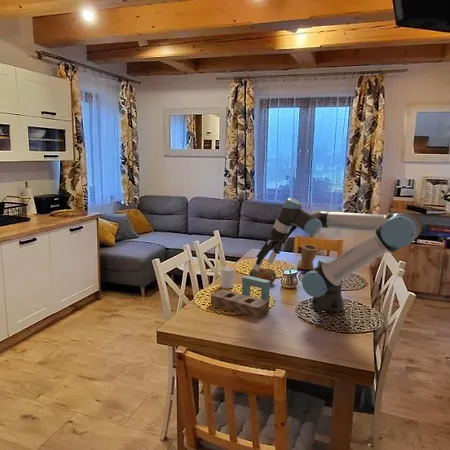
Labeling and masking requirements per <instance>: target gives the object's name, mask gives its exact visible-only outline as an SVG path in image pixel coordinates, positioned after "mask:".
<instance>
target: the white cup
mask: <svg viewBox="0 0 450 450" xmlns="http://www.w3.org/2000/svg"><path fill="white" fill-rule="evenodd" d="M235 270H236V269H235V267H232V266H221V267H220V269H219V271H220V272H219V276H220V288H223V289H231V288H233V287H234V282H235V273H236V272H235Z"/></svg>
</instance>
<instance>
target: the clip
mask: <svg viewBox="0 0 450 450" xmlns="http://www.w3.org/2000/svg"><path fill="white" fill-rule="evenodd" d="M241 282H242V283H241V284H242V285H241V294H243V295H246V296H250V297H251V285H253V286H257V287H261V290H260V291H261V292H260V299H262V300H266V301H269V302H270V289H271V288H270V287H271V284H270V281H269V280H265V279H260V278H256V277H251V276H250V275H244V276H242V277H241Z"/></svg>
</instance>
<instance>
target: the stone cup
mask: <svg viewBox="0 0 450 450" xmlns="http://www.w3.org/2000/svg"><path fill="white" fill-rule="evenodd" d="M317 252H318V248H317V247H316V246H314V245H312V244H309V243H308V244H304V245H303V246H302V247H301V255H300V256H301V259H300V260H299V261H298V262H297V265H296V267H297V268H298V269H299V270H306V271H307V270H308V271H311V270H313V269H314V268H313V267H314V260H315V258H316V256H317Z"/></svg>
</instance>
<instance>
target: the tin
mask: <svg viewBox="0 0 450 450" xmlns="http://www.w3.org/2000/svg"><path fill="white" fill-rule="evenodd" d="M249 276H251V277H256V278H260V279H265V280H269V281H270V285H271V284H273V283H274V282H275V281H276V278H277V274H276V272H275V271H274V270H273V269H271V268H265V267H260V269H259V271H256V270H255V269H253V268H251V269H250V271H249Z"/></svg>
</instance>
